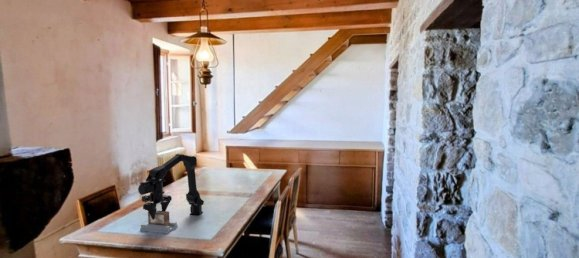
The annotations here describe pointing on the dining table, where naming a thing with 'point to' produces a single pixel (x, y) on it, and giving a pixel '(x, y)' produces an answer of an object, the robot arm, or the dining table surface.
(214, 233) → the dining table surface
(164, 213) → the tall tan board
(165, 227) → the display stand
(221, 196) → the dining table surface
